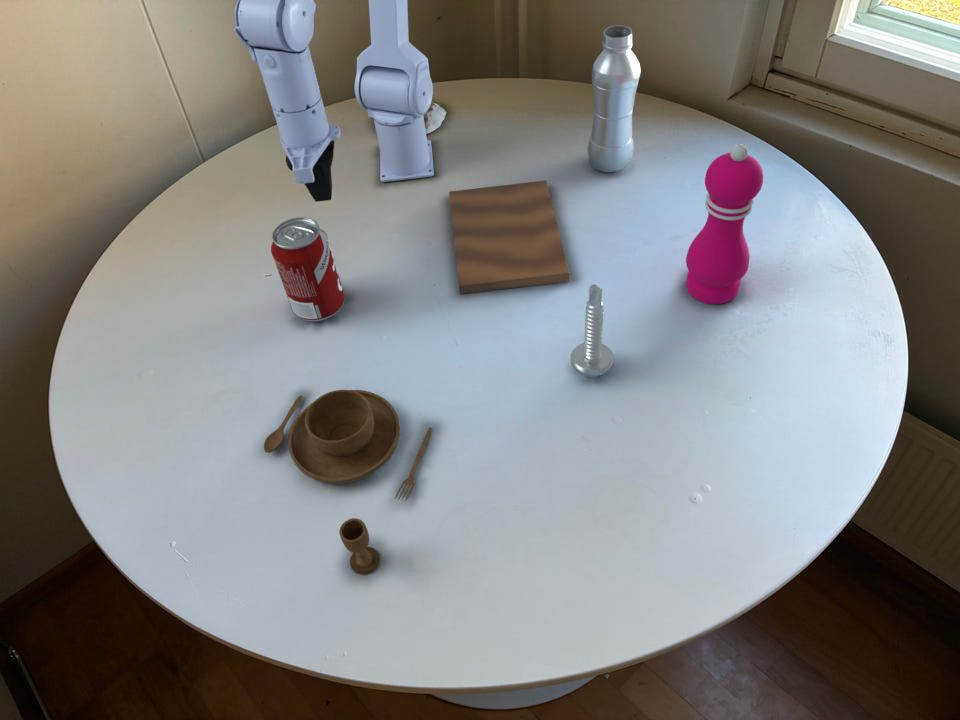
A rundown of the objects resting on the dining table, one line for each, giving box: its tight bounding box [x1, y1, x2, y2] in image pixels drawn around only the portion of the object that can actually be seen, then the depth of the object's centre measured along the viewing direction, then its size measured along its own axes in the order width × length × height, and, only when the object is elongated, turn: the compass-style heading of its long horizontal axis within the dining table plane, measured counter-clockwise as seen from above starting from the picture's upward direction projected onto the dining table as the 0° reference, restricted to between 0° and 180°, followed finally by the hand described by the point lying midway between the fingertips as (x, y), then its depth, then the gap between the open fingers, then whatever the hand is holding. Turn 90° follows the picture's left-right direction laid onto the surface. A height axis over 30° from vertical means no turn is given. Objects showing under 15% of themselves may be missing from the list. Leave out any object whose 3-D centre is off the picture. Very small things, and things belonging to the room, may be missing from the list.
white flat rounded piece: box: [423, 98, 448, 135], centre depth 124 cm, size 12×12×4 cm
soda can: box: [270, 216, 346, 322], centre depth 93 cm, size 7×7×12 cm
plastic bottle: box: [587, 25, 642, 173], centre depth 106 cm, size 6×7×20 cm
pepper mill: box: [685, 143, 764, 305], centre depth 87 cm, size 7×7×20 cm
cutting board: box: [448, 179, 571, 295], centre depth 103 cm, size 20×14×2 cm
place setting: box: [263, 389, 433, 575], centre depth 78 cm, size 18×20×6 cm
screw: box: [569, 284, 615, 379], centre depth 82 cm, size 13×5×5 cm
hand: (323, 197), depth 97 cm, fingers closed
